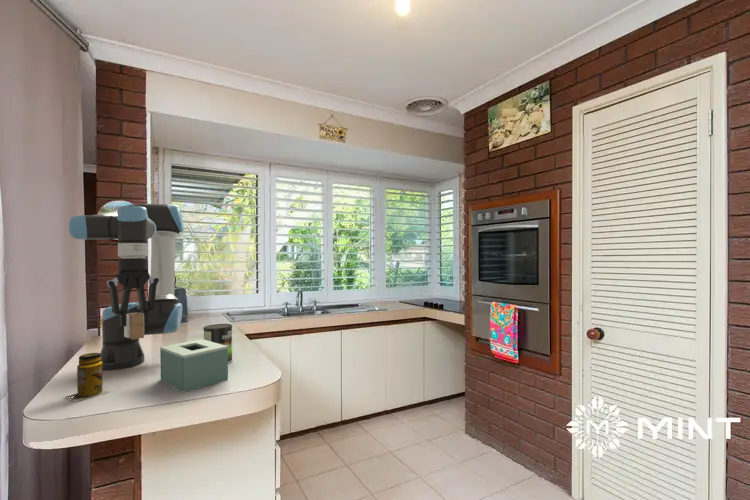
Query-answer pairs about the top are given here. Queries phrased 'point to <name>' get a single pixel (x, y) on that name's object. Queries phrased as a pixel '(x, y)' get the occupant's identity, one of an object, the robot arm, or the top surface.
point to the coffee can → (220, 336)
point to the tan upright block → (136, 325)
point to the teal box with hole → (194, 364)
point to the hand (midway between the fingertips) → (134, 335)
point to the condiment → (88, 377)
